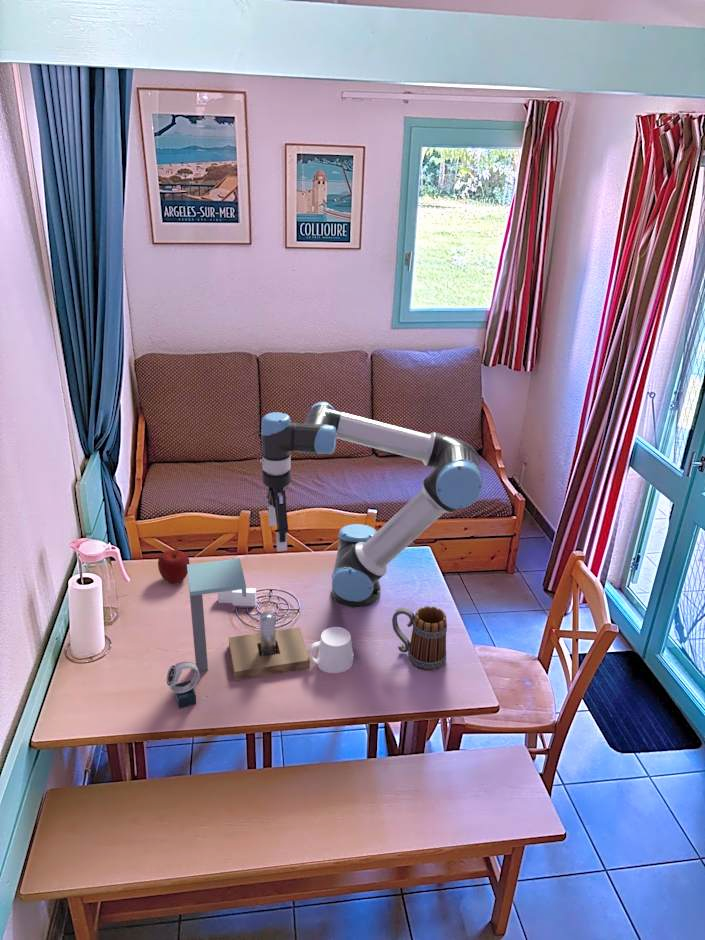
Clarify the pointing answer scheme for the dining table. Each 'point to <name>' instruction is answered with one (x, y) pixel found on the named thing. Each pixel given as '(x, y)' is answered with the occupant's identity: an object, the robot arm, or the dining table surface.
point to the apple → (173, 566)
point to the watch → (183, 684)
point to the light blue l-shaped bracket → (204, 582)
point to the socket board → (253, 665)
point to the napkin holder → (238, 597)
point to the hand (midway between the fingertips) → (277, 537)
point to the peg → (267, 633)
